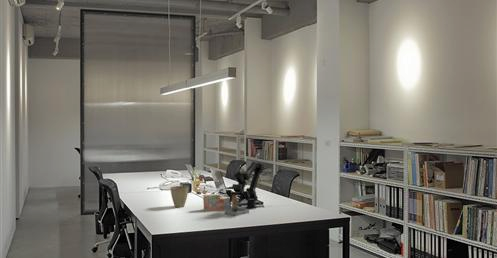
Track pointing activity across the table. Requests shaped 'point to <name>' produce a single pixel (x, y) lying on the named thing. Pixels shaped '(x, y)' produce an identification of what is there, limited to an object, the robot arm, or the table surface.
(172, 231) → the table surface
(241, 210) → the tray
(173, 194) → the plant pot
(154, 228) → the table surface
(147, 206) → the table surface
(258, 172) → the robot arm
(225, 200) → the colourful rectangular box
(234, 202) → the scraper handle
